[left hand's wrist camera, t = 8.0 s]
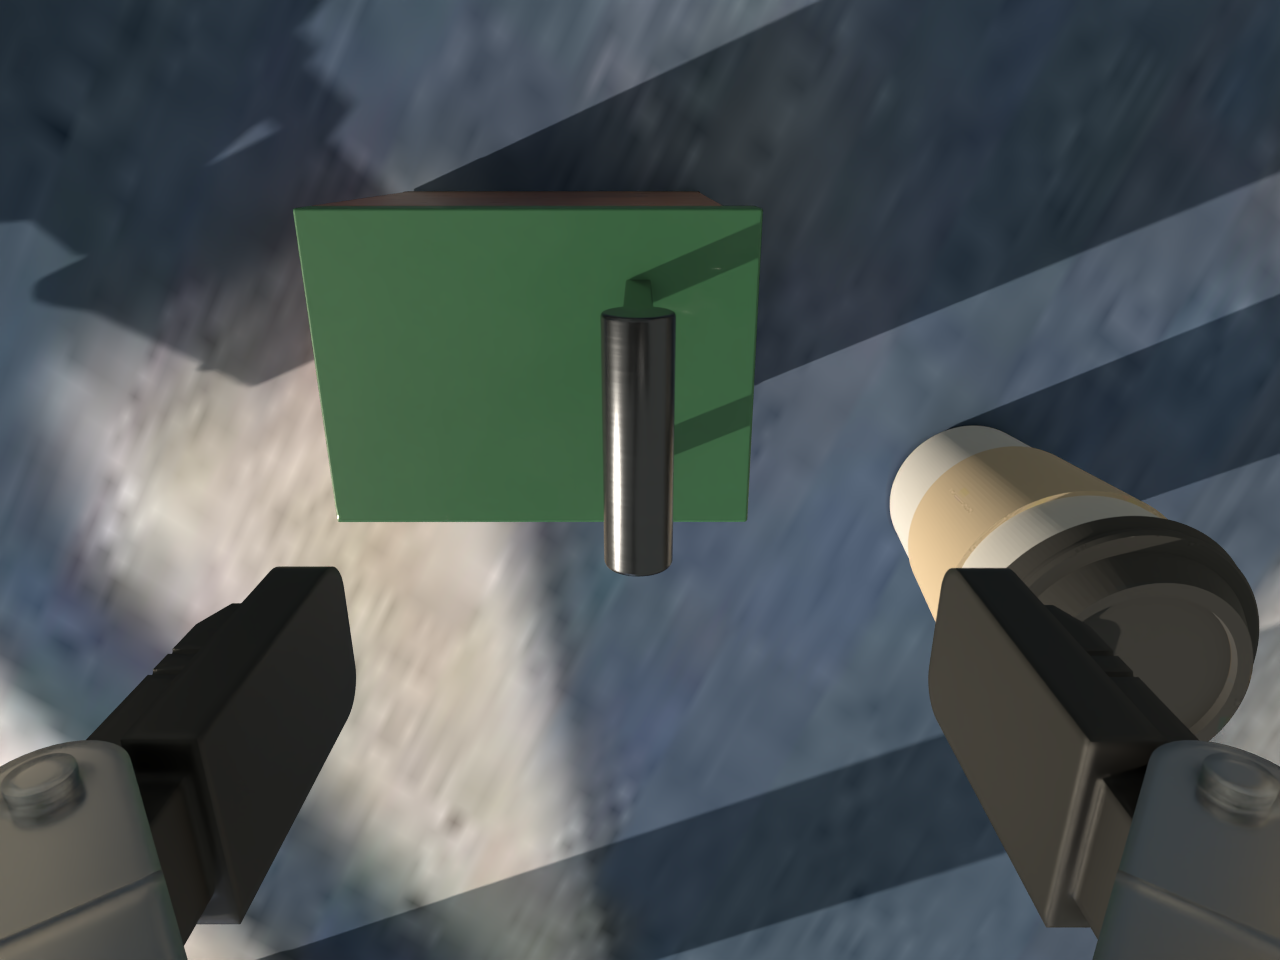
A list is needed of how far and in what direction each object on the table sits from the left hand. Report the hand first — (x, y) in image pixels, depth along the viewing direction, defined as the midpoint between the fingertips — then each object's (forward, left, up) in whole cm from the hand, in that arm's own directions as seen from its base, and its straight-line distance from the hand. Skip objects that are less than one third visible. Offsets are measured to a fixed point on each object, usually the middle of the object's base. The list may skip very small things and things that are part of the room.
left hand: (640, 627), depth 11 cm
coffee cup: (+15, -9, -26) cm, 31 cm away
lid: (-3, 0, -15) cm, 15 cm away
